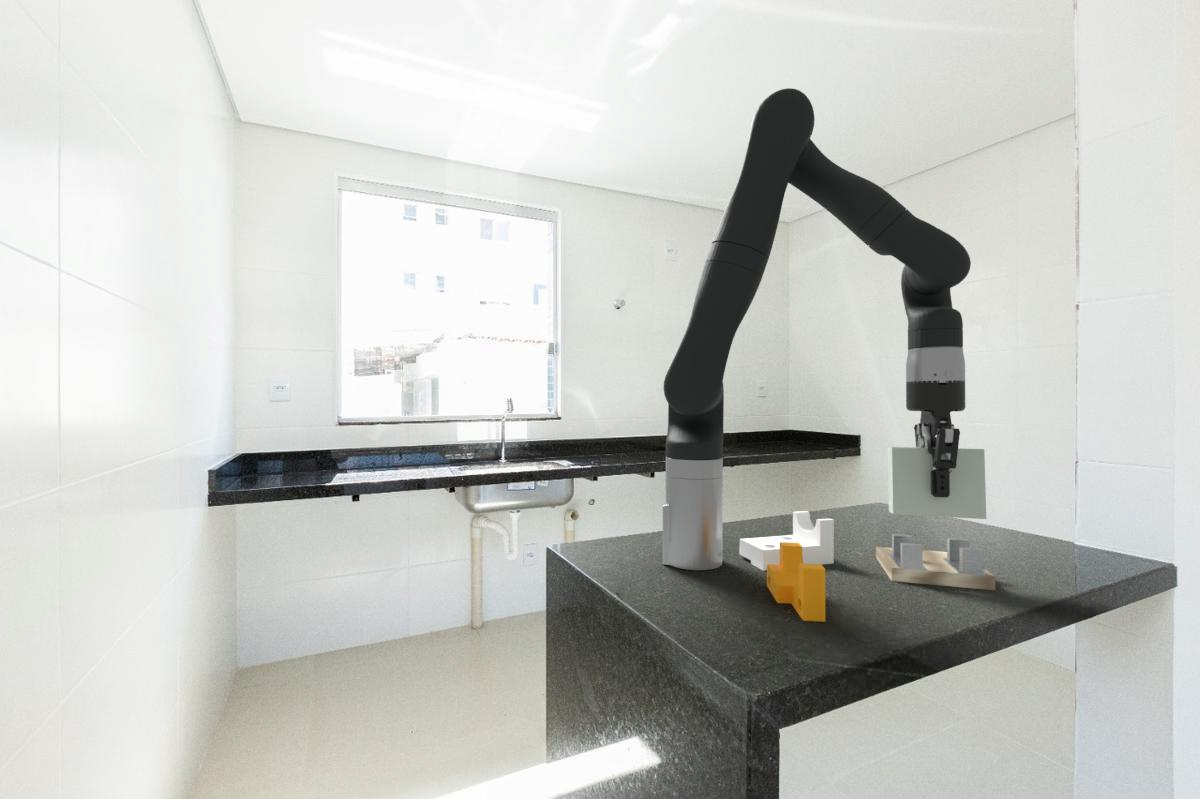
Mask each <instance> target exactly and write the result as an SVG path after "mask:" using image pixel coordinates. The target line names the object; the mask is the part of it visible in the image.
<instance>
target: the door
mask: <svg viewBox="0 0 1200 799" xmlns="http://www.w3.org/2000/svg"><path fill="white" fill-rule="evenodd" d="M934 449H935V448H934ZM985 458H986V457H985V449H984V448H959V447H958V453H957V462H956V464H957V465H956V468H955V469H954V468H952V471H948V472H950V495H949V497H934V496H933V495H932V494H931V468H930V456H929V455H927V454H926V452H925V448H916V447H911V446H910V447H909V446H908V447H907V446H906V447H905V446H904V447H903V446H902V447H901V446H896V447H895V446H887V474H888V475H887V477H888V478H887V481H888V482H887V483H888V484H887V485H888V486H887V487H888V490H887V491H888V493H887V494H888V512H889V513H891V514H893V515H905V516H908V515H909V516H921V517H923V516H924V517H940V518H941V517H943V518H959V519H979V520H987V497H986V496H987V494H986V489H987V488H986V464H985V463H986V462H985ZM941 459H942V460H945V457H944V456H943V455H941Z"/></svg>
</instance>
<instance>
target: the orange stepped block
mask: <svg viewBox="0 0 1200 799" xmlns="http://www.w3.org/2000/svg"><path fill="white" fill-rule="evenodd" d="M766 587H767V588H768V590H769V592H770V593H771V595H772V596H773V598H774V600H775V601H776V603H777V604H791V605H792V607H793V608H794V610H795V611H796V612H797V614H798V615H799V617H800V618H801V620H802V621H804V622H824V623H825V622H826V568H825V567H824V566H823V565H821V564H803V556H802V546H801V545H800V544H799V543H789V542H780V565H769V564H767V570H766Z"/></svg>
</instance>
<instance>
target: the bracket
mask: <svg viewBox="0 0 1200 799" xmlns="http://www.w3.org/2000/svg"><path fill="white" fill-rule="evenodd" d="M815 520H816V521H815V525H814V524H813V522H812V520H811V516H810V511H807V510H801V511H800V510H798V511H797V510H796V511H792V534H786V535H785V534H784V535H774V536H773V535H772V536H764V537H763V536H760V537H747V538H740V539H739V553H738V554H739V555H740V556H742V557H744V558H745V559H747V560H749V561H750V564H751V565H752V566H754V567H756V568H758V569H759V570H761V571H763V572H764V571H767V564H769V565H780V542H789V543H799V544H800V545H801V546H802V556H803V564H821V565H822V566H823V565H830V564H834V562H835V559H834V558H835V556H834V555H835V554H834V553H835V549H834V548H835V546H834V545H835V544H834V543H835V535H834V533H835V531H834V530H835V529H834V528H835V519H832V518H817V519H815Z"/></svg>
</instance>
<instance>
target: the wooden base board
mask: <svg viewBox="0 0 1200 799" xmlns="http://www.w3.org/2000/svg"><path fill="white" fill-rule="evenodd" d="M889 554H892V547H885V546H875V558H876V559H877V561H878V562H879V565H880V566H881V567H882V569H883V570H884V572H885V573H886V574H887V576H888V578H889V579H890V581H891V582H900V583H908V584H909V583H911V584H921V585H922V584H923V585H931V586H932V585H933V586H944V587H955V588H967V589H977V590H987V591H988V590H989V591H996V576H995V575H994V574H993V573H991V572H990V571H989V570H988V569H986V568H985V567H984V571H985V572H986V573H988V576H983V575H971V574H959V573H957V572H956V571H955V570H954V569H953V568H952V567H951V566H950V565H948V564H947V563H946V562H945V561H944V560H943V558H947V551H940V550H938V551H937V550H926V549H925V550H924V549H923V566H924V567H925V568H926V571H924V570H912V569H900V568H898V567H897V566H896V564H895V563H894V562H893V561H892V559H891V558H890V557H889Z"/></svg>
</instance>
